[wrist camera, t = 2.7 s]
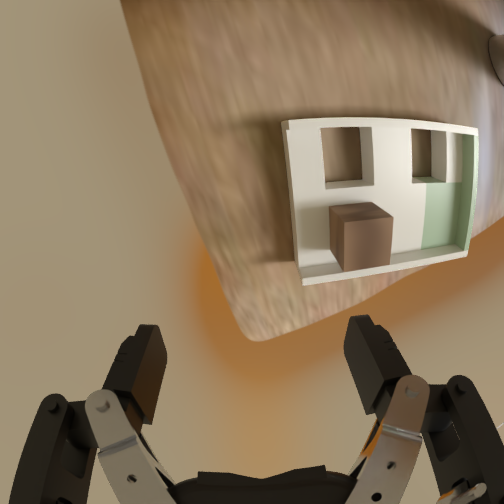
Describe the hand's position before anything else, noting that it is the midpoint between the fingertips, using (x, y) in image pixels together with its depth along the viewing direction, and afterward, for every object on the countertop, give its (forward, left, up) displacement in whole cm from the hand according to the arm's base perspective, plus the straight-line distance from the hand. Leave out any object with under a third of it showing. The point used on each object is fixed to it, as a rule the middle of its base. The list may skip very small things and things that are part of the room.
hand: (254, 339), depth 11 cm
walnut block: (-10, +2, -16) cm, 18 cm away
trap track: (-15, -1, -19) cm, 24 cm away
